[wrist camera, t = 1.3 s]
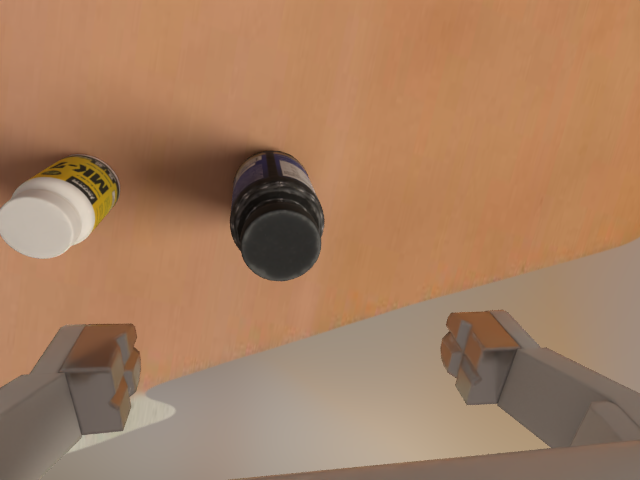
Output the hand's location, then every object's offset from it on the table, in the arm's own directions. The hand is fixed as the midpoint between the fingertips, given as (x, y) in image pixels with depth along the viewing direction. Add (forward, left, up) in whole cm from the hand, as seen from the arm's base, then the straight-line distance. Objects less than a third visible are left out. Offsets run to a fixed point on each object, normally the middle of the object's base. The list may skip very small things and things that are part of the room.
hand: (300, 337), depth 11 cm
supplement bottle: (-11, -8, -24) cm, 28 cm away
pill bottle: (+2, -3, -24) cm, 24 cm away
